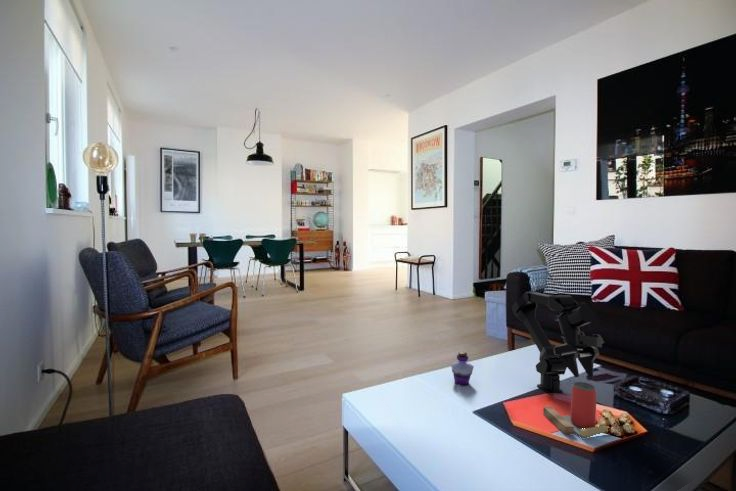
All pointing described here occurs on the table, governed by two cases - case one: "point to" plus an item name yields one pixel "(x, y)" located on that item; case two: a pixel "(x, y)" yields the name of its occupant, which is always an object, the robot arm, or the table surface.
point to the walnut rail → (558, 420)
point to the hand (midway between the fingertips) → (584, 377)
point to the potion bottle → (462, 369)
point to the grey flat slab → (586, 429)
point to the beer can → (583, 405)
